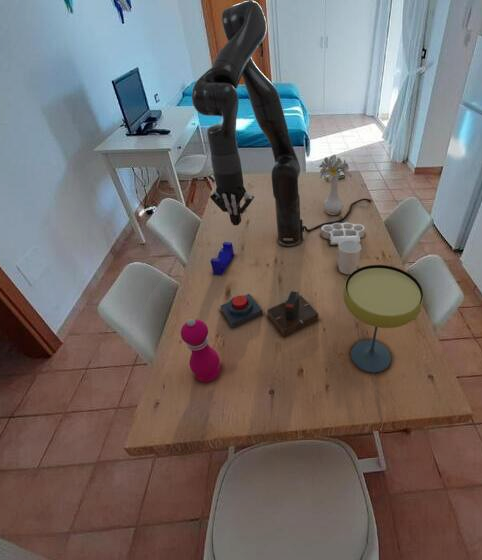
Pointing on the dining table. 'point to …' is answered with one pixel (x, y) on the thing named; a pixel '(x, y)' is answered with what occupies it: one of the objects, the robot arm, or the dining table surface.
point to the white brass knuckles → (342, 232)
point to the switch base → (301, 320)
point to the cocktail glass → (380, 308)
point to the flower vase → (333, 183)
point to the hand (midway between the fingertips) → (236, 224)
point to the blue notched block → (222, 258)
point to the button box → (241, 312)
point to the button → (239, 302)
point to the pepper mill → (200, 350)
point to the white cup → (348, 256)
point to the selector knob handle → (292, 305)
